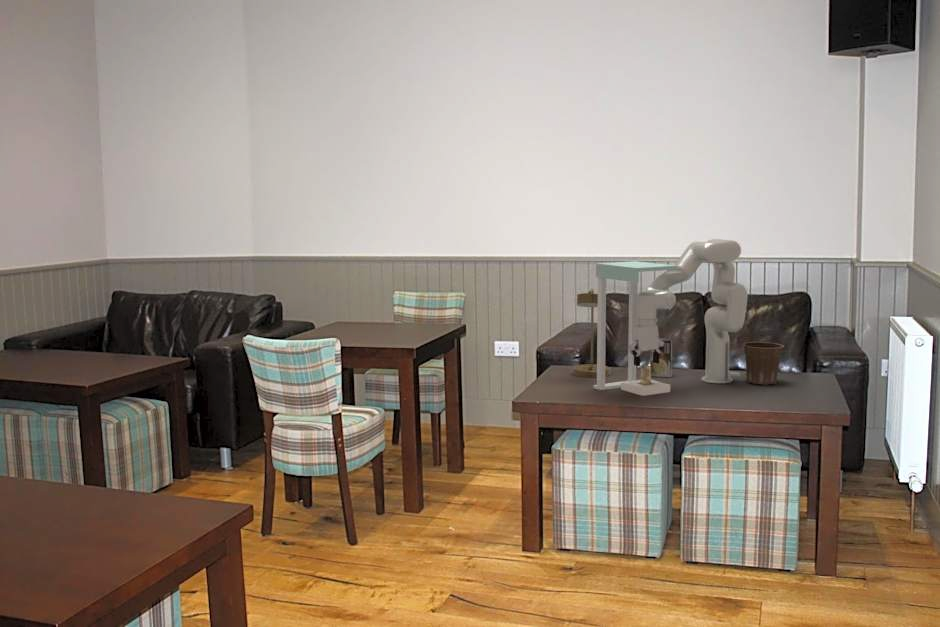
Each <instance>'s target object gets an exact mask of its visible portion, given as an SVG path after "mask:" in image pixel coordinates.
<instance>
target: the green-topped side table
mask: <svg viewBox="0 0 940 627" xmlns="http://www.w3.org/2000/svg"><path fill="white" fill-rule="evenodd" d="M667 270H677V266H676V265H675V264H663V263H656V262H655V263H654V262H644V261H636V260H634V261H621V262H620V261H617V262H599V263H596V264H595V278H597V294H598V307H597V323H596V324H597V325H596V326H597V329H596V336H597V337H596V344H597V345H596V365H597V377H596V384H593V385H592V386H593V387H592V388H593V389H596V390H597V391H605V390H612V389H613V390H614V389H621V382H627V381H635V380H637V366H635V365H634V356H633V355H632V353H631V352H630V349H629V345H631V344H632V343H633V339H634V331H635V327H636V326H637V295H638V283H639V278H640V276H639V275H640V274H639V273H642V272H661V271H667ZM607 279H608V280H615V281H624V282H628V336H627V337H628V341H627V342H628V344H627V346H628V349H627V350H628V351H627V356H628V357H627V380H625V381H615V382H609V383H608V382H607V383H606V376H605V366H606V347H607V344H606V343H607V342H606V336H607V332H606V330H607V326H606V325H607V324H606V323H607Z"/></svg>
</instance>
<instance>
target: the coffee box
mask: <svg viewBox="0 0 940 627" xmlns="http://www.w3.org/2000/svg"><path fill="white" fill-rule="evenodd" d="M659 340H661V341H663V342H664V345H663V349H662V350H661V353H660V354H659V363H654V362H653V353H654V351H653V350H650V364H649V366H651V377H657V378H660V377H661V378H662V377H663V378H671V377H672V376H673V339H672V338H661V337H659Z"/></svg>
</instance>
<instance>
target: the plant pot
mask: <svg viewBox="0 0 940 627" xmlns="http://www.w3.org/2000/svg"><path fill="white" fill-rule="evenodd" d="M742 346H743V349H744V350H743V352H744V354H745V371H746V373H745V374H746V375H745V376H746V382H747V383H749V384H753V385H758V384H763V385H762V386H770V385H769V384H771V385H776V384H777V381H778V373H779V366H780V361H781V356H782V352H783V349H784V345H783V344H780V343H776V342H775V343H774V342H769V341H768V342H765V341H751V342H749V341H748V342H744V343H743V344H742ZM775 383H776V384H775Z"/></svg>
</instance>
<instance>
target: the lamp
mask: <svg viewBox="0 0 940 627" xmlns="http://www.w3.org/2000/svg"><path fill="white" fill-rule="evenodd" d="M576 306H578V307H584V308H590V311H591V312H590V319H591V320H590V363H589V364H587V363H586V364H585V363H584V364H577V365H573V366H571V375H573V376H575V377H579V378H580V377H582V378H597V364H594V316H595V314H594V308H598V293H595V292H594V288H590V290H588V292H585V293H584V292H583V293H578V294H576ZM610 375H611V367H610V366H608V365H605V377H608V376H610Z"/></svg>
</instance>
